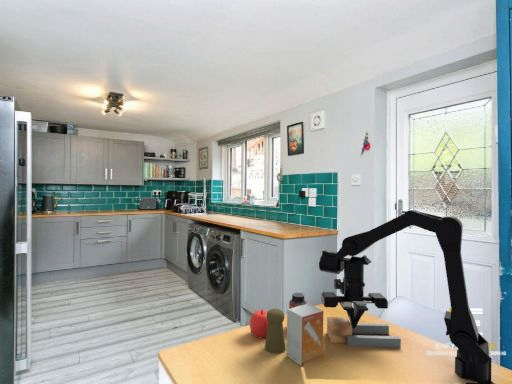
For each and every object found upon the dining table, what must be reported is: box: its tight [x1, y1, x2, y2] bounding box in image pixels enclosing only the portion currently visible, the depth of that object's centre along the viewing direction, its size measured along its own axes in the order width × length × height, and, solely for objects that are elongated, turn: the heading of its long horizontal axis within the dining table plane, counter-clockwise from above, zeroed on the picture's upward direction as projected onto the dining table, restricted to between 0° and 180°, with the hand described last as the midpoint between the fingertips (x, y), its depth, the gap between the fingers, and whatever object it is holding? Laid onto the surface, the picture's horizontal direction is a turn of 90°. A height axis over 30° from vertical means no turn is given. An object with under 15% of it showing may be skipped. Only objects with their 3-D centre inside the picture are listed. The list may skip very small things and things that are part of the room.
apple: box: [248, 309, 269, 339], centre depth 93 cm, size 8×8×8 cm
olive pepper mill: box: [264, 308, 287, 355], centre depth 85 cm, size 6×6×11 cm
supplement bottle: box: [288, 292, 308, 309], centre depth 98 cm, size 6×6×11 cm
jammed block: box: [326, 316, 352, 344], centre depth 90 cm, size 6×6×5 cm
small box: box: [286, 303, 324, 367], centre depth 81 cm, size 8×6×13 cm
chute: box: [346, 322, 402, 349], centre depth 89 cm, size 15×10×4 cm, turn 88°
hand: (353, 328), depth 90 cm, fingers closed
